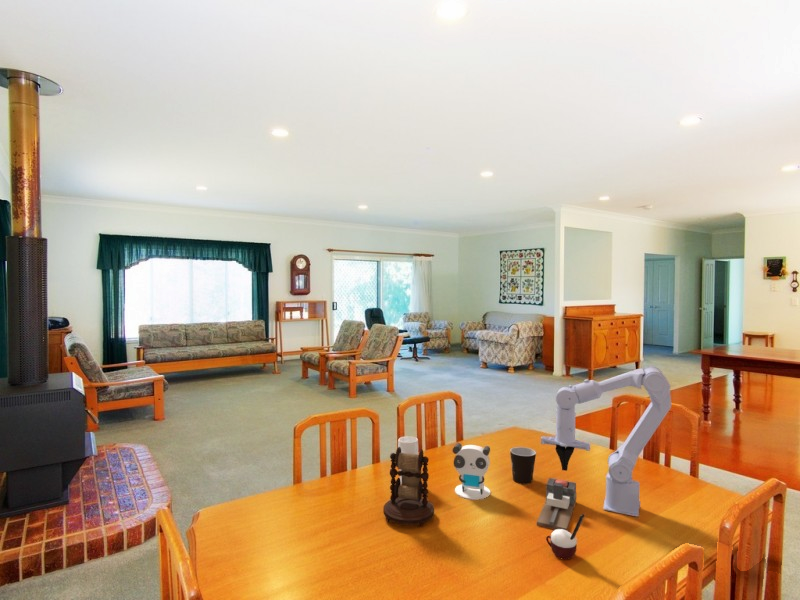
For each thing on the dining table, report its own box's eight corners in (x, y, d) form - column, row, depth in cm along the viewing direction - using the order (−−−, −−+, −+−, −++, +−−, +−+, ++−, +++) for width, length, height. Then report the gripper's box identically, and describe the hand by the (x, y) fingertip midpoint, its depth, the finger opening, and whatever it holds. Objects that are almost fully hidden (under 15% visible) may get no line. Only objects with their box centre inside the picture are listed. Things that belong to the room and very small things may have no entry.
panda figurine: (449, 496, 152) (449, 449, 151) (456, 481, 163) (457, 438, 162) (487, 502, 148) (488, 454, 148) (492, 487, 159) (493, 442, 158)
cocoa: (542, 550, 123) (540, 504, 122) (562, 544, 125) (560, 499, 125) (568, 569, 114) (566, 519, 114) (589, 563, 116) (587, 514, 116)
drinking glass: (418, 487, 158) (418, 443, 157) (397, 487, 158) (397, 442, 157) (417, 479, 165) (418, 436, 164) (398, 478, 165) (398, 435, 164)
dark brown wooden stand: (438, 508, 144) (439, 442, 143) (428, 533, 130) (428, 460, 129) (391, 501, 148) (392, 437, 147) (376, 525, 134) (376, 454, 133)
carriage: (569, 503, 143) (569, 483, 143) (567, 509, 139) (568, 488, 139) (548, 499, 146) (549, 479, 145) (546, 504, 142) (546, 484, 142)
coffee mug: (529, 487, 158) (530, 458, 158) (505, 481, 164) (505, 452, 163) (542, 476, 168) (543, 448, 167) (519, 470, 173) (519, 443, 172)
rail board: (576, 502, 148) (577, 483, 148) (567, 532, 131) (568, 510, 130) (549, 496, 152) (549, 477, 152) (536, 525, 134) (537, 504, 134)
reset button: (568, 487, 149) (568, 481, 148) (566, 491, 145) (566, 485, 145) (556, 485, 150) (556, 478, 150) (554, 489, 147) (554, 483, 147)
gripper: (539, 426, 149) (538, 469, 150) (589, 433, 143) (588, 478, 144) (543, 420, 156) (542, 462, 156) (591, 427, 149) (590, 469, 150)
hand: (564, 469), depth 150 cm, fingers closed
